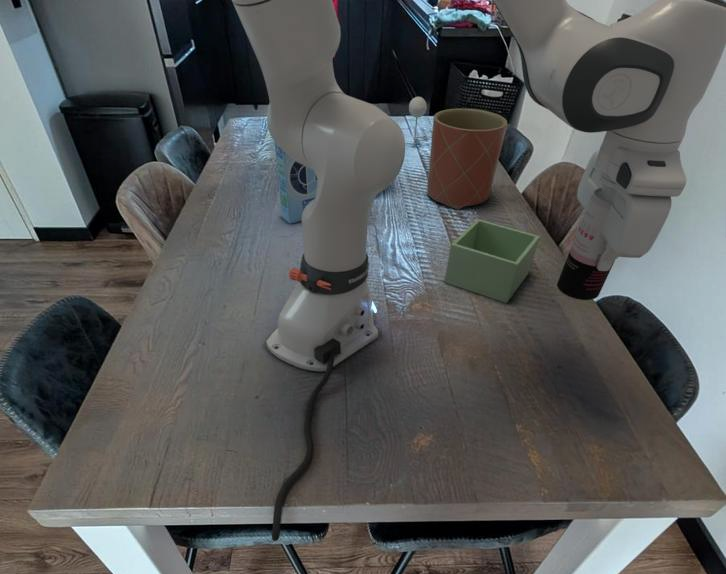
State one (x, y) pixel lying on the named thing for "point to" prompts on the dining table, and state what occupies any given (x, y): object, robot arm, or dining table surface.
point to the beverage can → (586, 254)
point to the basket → (491, 259)
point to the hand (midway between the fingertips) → (593, 255)
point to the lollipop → (417, 110)
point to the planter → (464, 155)
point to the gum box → (294, 186)
